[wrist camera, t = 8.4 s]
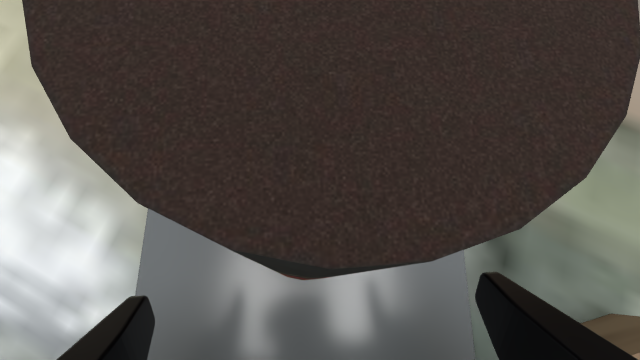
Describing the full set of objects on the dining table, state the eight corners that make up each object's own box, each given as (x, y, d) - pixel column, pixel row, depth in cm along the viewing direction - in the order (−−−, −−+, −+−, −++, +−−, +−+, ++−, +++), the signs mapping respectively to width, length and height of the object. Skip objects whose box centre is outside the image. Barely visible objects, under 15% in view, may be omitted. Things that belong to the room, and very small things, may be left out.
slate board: (480, 456, 16) (486, 462, 15) (116, 464, 15) (109, 471, 14) (445, 132, 20) (450, 127, 20) (165, 123, 19) (161, 118, 19)
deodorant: (388, 225, 18) (750, -3, 4) (301, 307, 17) (321, 468, 2) (312, 143, 19) (359, -287, 5) (224, 214, 18) (-101, -86, 3)
